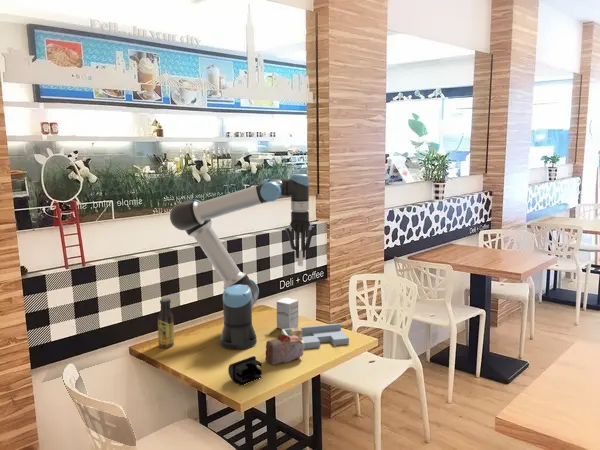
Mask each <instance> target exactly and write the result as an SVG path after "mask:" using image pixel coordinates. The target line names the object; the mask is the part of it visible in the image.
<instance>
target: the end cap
mask: <svg viewBox="0 0 600 450" xmlns="http://www.w3.org/2000/svg"><path fill="white" fill-rule="evenodd" d="M262 367H263V365H262V362H261V361H259V360H257V357H256V356H254V355H253V356H250V357H247V358H244V359H242V360H238V361H235V362H233V363H230V364H229V365H228V368H227V371H228V375H229V378H230V379H231V380H232V382H234V383H235V384H237V385H238V384H239V385H238V386H240V385H243V386H245V385H244V384H246V383H248V382H251V381H253V382H255V381H254V380H256V379H258V380H260V379H259V378H261V379H262V374H263V369H261V368H262ZM256 381H257V380H256ZM251 383H252V382H251ZM248 384H249V383H248ZM246 385H247V384H246Z"/></svg>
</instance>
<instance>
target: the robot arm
mask: <svg viewBox="0 0 600 450" xmlns="http://www.w3.org/2000/svg"><path fill="white" fill-rule="evenodd" d="M309 197H310V183H309V175H308V174H305V173H293V174H291V175H290V178H267V179H263V180H262V183H261V184H257V185H254V186H250V187H248V188H244V189H243V188H242V189H241V190H237V191H233V192H231V193H227V194H224V195H221V196H216V197H214V198H210V199H208V200H204V201H201V200H198V199H193V198H192V199H186V200H185V201H182V202H178V203H177V204H175V205H174V206H173V207H172V209H170V213H169V220H170V223H171V225H172V226H173V227H174V228H176V229H177V230H179V231H185V232H186V234H187V235H188V236H189V237H193V238H194V240H195V241H196V242H197V243H198V245H199V247H200V248H201V250H202V251H203V253H204V255H205V256H206V258H207V259H208V261H209V262H210V263H211V265H212V267H214V269H215V271H216V273H217V274H218V275H219V277H220V278H221V280H222V282H223V289H224V290H223V293H222V308H223V312H222V313H223V328H222V330H221V335H220V337H219V344H220V346H221V347H223V348H224V349H227V350H234V351H235V350H237V351H238V350H239V351H241V350H245V349H250V348H252V347H254V346H255V345H256V344H257V341H258V340H257V334H256V331H255V329H254V326H253V316H252V314H253V312H252V310H253V307H254V306H255V304H256V302H257V301H258V299H259V296H260V295H259V294H260V290H259V287H258V284H257V283H256V282H255V281H254V280H252V279H251V278H250V277H249V276H248V274H247V273H245V272H242V271H241V270H240V268H239V267H238V266H237V264H236V262H235V261H234V259H233V258H232V256H231V255H230V253H229V252H228V250H227V248H226V247H225V246H224V244H223V243H222V241H221V240H220V238H219V236H218V235H217V233H216V232H215V230H214V228H213V227H212V222H213V221H212V220H211V219H215V218H218V217H221V216H225V215H227V214H228V215H229V214H231V213H232V214H233V213H235V212H238V211H241V210H245V209H248V208H251V207H254V206H258V205H261V204H265V203H268V202H274V201H277V200H278V199H279V198H290V207H291V208H290V209H291V212H290V216H291V217H290V223H289V225H288V226H286V227H284V231H286V233H287V236H288V240H289V244H290V248H291V250H293V251H295V258H296V259H297V265H298V266H299V267H303V265H304V264H303V263H304V261H303V260H304V258H305V257H306V250H308V249H310V247H311V241H312V238H313V233H314V231H315V229H316V227H315V226H314V225H312V224H311V222H310V211H309V210H310V207H309V206H310V204H309V203H310V202H309V201H310V199H309ZM292 230H293V232H294V238H293V234H292ZM307 230H308V231H307ZM306 231H307V237H306ZM294 239H295V240H294Z"/></svg>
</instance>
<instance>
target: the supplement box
mask: <svg viewBox="0 0 600 450" xmlns="http://www.w3.org/2000/svg"><path fill="white" fill-rule="evenodd" d="M296 327H299V300H298V299H296V298H295V299H293V298H289V297H283V298H281V299H279V300H277V301H276V328H277V329H280V330H282V329H289V328H296Z"/></svg>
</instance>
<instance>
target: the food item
mask: <svg viewBox="0 0 600 450" xmlns="http://www.w3.org/2000/svg"><path fill="white" fill-rule="evenodd" d="M303 355H304V349H303V343H302V342H301V340H300V339H299V338H298V337H297V336H296V335H292V336H287V335H282V333H281V334H279V335H278V338H275V339H274V338H273V339H269V340H267V341H266V345H265V361H266V362H267V363H269V364H270V365H271V366H274V365H277V364H278V365H279V364H282V363H286V364H288V363H290V362H292V361H294V360H298V359H300V358H301V357H303Z"/></svg>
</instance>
